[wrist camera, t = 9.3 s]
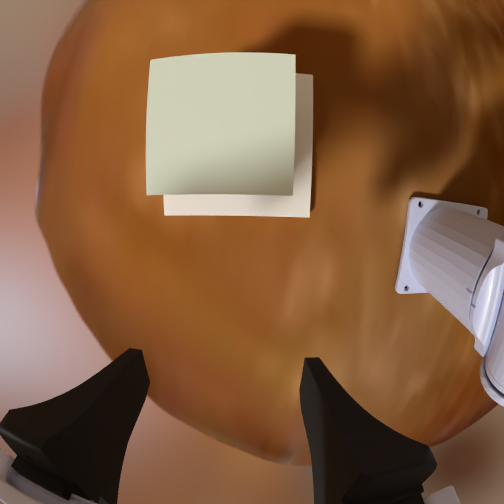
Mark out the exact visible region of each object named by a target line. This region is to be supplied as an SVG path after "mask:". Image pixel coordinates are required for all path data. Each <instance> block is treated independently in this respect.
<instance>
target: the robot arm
mask: <svg viewBox="0 0 504 504" xmlns="http://www.w3.org/2000/svg"><path fill="white" fill-rule="evenodd" d="M420 201H421V206H420V207H419V206H418V203H419V202H420ZM477 210H478V212H477ZM487 216H488V210H487V208H484V207H480V206H474V205H468V204H462V203H456V202H449V201H443V200H436V199H428V198H421V197H412V198H410V200H409V203H408V213H407V221H406V228H405V236H404V242H403V248H402V254H401V260H400V266H399V271H398V276H397V281H396V286H395V290H396V292H397V293H399V294H408V293H428V292H429V293H430V294H431V295H432V296H433V297H434V298H435V299H437V300H438V301H439V302H440V303H441V304H442V305H443V306H444V307H445V308H446V309H447V310H448V311H450V312H451V313H452V314H453V315H454V316H455V317H456V318H457V319H458V320H459V321H460V322H461V323H462V324H463V325H464V326H465V327H466V328H467V329H468V330H469V331H470V332H471V333H472V334H473V335H474V336H475V345H474V348H475V349H476V350H477V351H478V352H479V353H480V354H481V356H482V357H483V359H482V362H481V366H480V378H481V382H482V385H483V387H484V389H485V390H486V392H487V393H488V395H489V396H490V397H491V398H492V399H493V400H494V401H496V402H497V403H498V404H500V405H502V406H504V226H502V225H499V224H497V223H494V222H492V221H489V220H487ZM405 286H407V288H406V289H404V288H405ZM149 384H150V381H149V377H148V373H147V369H146V365H145V361H144V357H143V353H142V350H139V349H132V348H130V349H128V350H127V351H125V352H124V353H123V354H121V355H120V356H119V357H118V358H116V359H115V360H114V361H113V362H111V363H110V364H109V365H108V366H106V367H105V368H103V369H102V370H101V371H100V372H98V373H97V374H95V375H94V376H92V377H91V378H89V379H88V380H87V381H85V382H84V383H82V384H80V385H79V386H77V387H75V388H73V389H72V390H70V391H68V392H66V393H64V394H62V395H59V396H57V397H55V398H53V399H50V400H47V401H45V402H42V403H38V404H35V405H32V406H28V407H22V408H17V409H12V410H9V411H8V413H7V414H6V415H5V417H4V418H3V420H2V421H1V422H0V435H1V437H2V438H3V439H4V440H5V442H6V443H7V444H8V445H9V447H10V448H11V449H12V450H13V451H14V452H15V453H16V454H17V457H16V458H15V459H14V458H13V457H12V456H10V455H9V454H7V453H6V452H4V451H3V450H1V449H0V500H1V501H2V502H3V503H5V504H117V497H118V488H119V481H120V474H121V470H122V465H123V460H124V456H125V452H126V448H127V444H128V441H129V438H130V435H131V433H132V431H133V428H134V426H135V423H136V421H137V418H138V416H139V414H140V411H141V409H142V407H143V404H144V402H145V399H146V395H147V392H148V388H149ZM299 391H300V403H301V411H302V416H303V420H304V425H305V429H306V434H307V438H308V443H309V447H310V453H311V460H312V472H313V486H314V504H460V502H459V499H458V497H457V495H456V492H455V490H454V488H453V486H449V487H447V488H444V489H442V490H440V491H437V492H435V493H432V494H430V495H428V496H427V497H425V498H422V495H421V493H422V492H423V491H424V490H423V486H422V483H423V482H424V481H425V480H426V479H427V478H428V477H429V476H430V475H431V474H432V473H433V472H434V471H435V469H436V467H437V463H436V460H435V458H434V456H433V453H432V452H431V450H430V448H429V446H427V445H425V444H422V443H420V442H417V441H415V440H412V439H410V438H408V437H406V436H404V435H402V434H400V433H398V432H396V431H394V430H393V429H391V428H389V427H388V426H386V425H385V424H383V423H382V422H380V421H379V420H377V419H376V418H374V417H373V416H372V415H371V414H369V413H368V412H367V411H366V410H364V409H363V408H362V407H361V406H360V405H359V404H358V403H357V402H356V401H355V400H354V399H353V398H352V397H351V396H350V395H349V394H348V393H347V392H346V391H345V390H344V388H343V387H342V386H341V385H340V384H339V383H338V382H337V380H336V379H335V378H334V377H333V375H332V374H331V373H330V371H329V370H328V369H327V367H326V366H325V365H324V363H323V362H322V361H321V359H320V358H319V357H315V358H305V360H304V366H303V372H302V378H301V384H300V390H299Z"/></svg>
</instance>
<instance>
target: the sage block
mask: <svg viewBox="0 0 504 504" xmlns="http://www.w3.org/2000/svg"><path fill="white" fill-rule="evenodd" d="M294 150H295V55H294V54H280V53H252V52H238V53H210V54H196V55H185V56H176V57H168V58H160V59H154V60H151V61H150V72H149V84H148V100H147V122H146V188H147V195H174V194H248V195H283V196H293V180H294Z"/></svg>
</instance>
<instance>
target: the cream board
mask: <svg viewBox="0 0 504 504" xmlns="http://www.w3.org/2000/svg"><path fill="white" fill-rule="evenodd" d="M312 149H313V75H310V74H299V73H295V150H294V180H293V196H282V195H239V194H193V195H164V215H233V216H280V217H310V199H311V178H312Z"/></svg>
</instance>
